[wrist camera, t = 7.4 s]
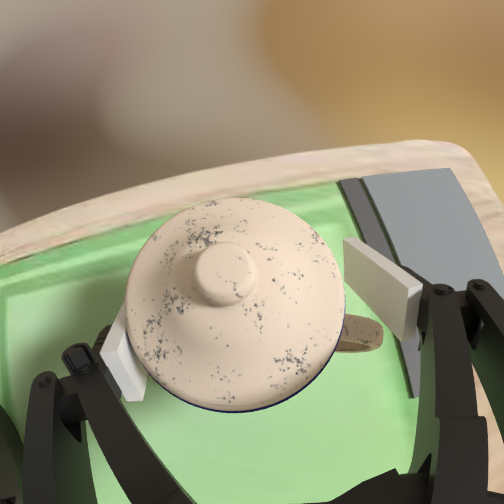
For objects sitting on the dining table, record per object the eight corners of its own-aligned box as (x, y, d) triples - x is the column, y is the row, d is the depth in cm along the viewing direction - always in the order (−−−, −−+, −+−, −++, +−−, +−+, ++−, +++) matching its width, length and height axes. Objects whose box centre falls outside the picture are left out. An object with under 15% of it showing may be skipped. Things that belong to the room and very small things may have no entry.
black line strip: (412, 398, 19) (414, 398, 19) (339, 182, 28) (339, 180, 27) (431, 389, 19) (433, 388, 19) (356, 179, 28) (357, 177, 27)
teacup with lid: (162, 379, 18) (56, 366, 7) (195, 258, 22) (146, 144, 11) (338, 415, 17) (433, 446, 6) (357, 288, 20) (439, 195, 10)
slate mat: (433, 376, 19) (436, 376, 19) (361, 179, 28) (362, 176, 27) (516, 325, 20) (519, 325, 20) (448, 169, 29) (449, 167, 28)
